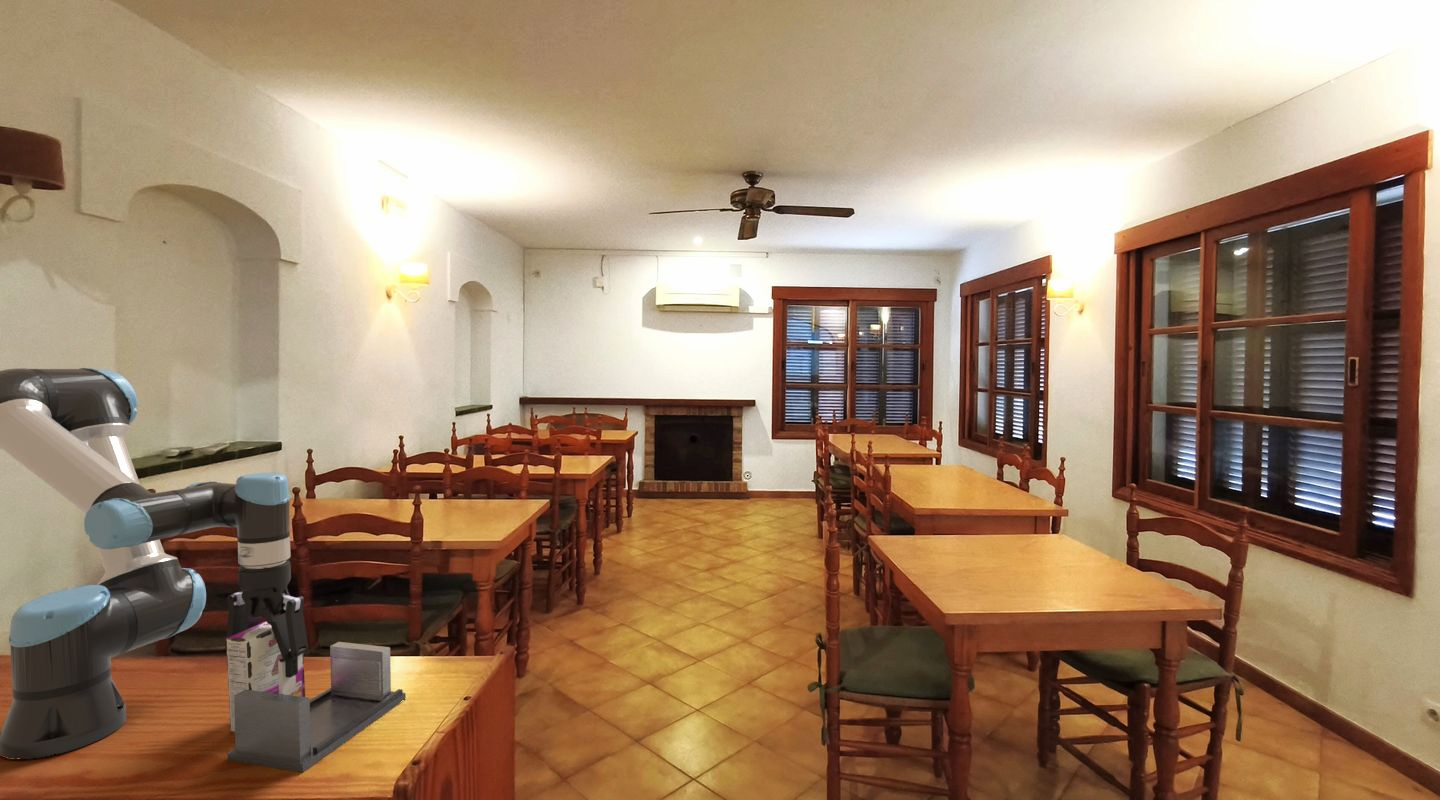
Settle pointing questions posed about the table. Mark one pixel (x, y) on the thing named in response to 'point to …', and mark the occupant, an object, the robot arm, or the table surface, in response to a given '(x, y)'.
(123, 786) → the table surface
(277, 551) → the robot arm
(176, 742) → the table surface
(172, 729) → the table surface
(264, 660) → the candy bar box
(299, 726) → the vise
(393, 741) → the table surface
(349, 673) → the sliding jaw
